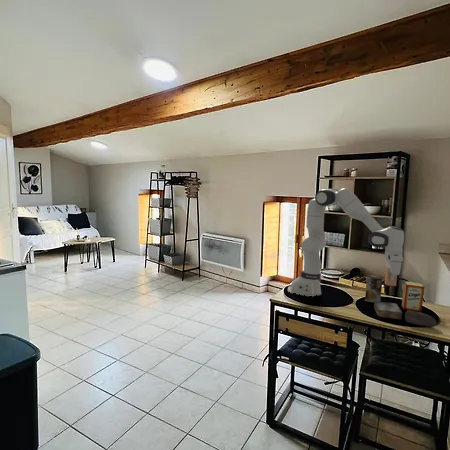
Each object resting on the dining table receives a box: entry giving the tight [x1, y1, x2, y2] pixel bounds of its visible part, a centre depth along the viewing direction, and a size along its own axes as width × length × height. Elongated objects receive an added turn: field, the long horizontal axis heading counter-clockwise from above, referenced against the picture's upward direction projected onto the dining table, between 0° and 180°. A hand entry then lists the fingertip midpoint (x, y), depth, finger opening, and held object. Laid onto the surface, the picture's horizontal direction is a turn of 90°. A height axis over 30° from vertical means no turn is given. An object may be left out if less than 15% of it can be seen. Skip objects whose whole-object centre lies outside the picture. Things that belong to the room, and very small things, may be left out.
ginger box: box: [401, 281, 425, 313], centre depth 198 cm, size 10×6×16 cm
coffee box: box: [364, 274, 384, 303], centre depth 209 cm, size 9×6×16 cm
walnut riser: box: [373, 301, 403, 320], centre depth 190 cm, size 12×14×4 cm
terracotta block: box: [384, 266, 398, 287], centre depth 187 cm, size 5×5×10 cm
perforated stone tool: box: [404, 310, 437, 328], centre depth 176 cm, size 15×5×7 cm, turn 61°
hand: (390, 278), depth 188 cm, fingers closed on terracotta block, 5 cm apart
